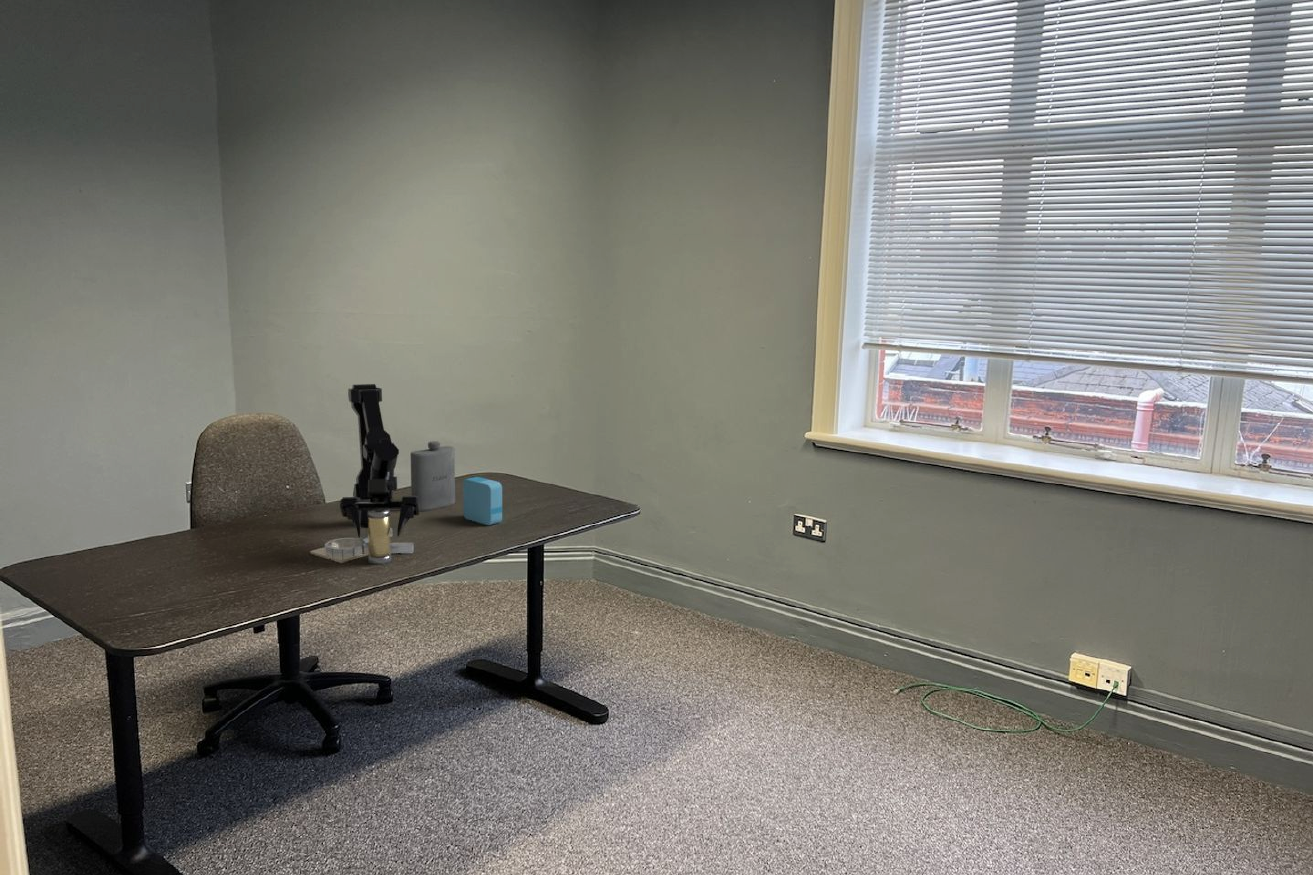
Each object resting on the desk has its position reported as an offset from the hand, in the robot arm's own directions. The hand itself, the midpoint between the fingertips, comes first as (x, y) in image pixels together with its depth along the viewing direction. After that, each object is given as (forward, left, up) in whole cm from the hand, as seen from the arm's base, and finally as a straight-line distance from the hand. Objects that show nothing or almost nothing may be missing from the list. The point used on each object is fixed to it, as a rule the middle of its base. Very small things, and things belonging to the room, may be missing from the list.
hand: (378, 536), depth 227 cm
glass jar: (-1, +1, -7) cm, 7 cm away
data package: (-7, +43, -7) cm, 44 cm away
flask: (-29, +45, -7) cm, 54 cm away
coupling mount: (-9, +5, -7) cm, 13 cm away
